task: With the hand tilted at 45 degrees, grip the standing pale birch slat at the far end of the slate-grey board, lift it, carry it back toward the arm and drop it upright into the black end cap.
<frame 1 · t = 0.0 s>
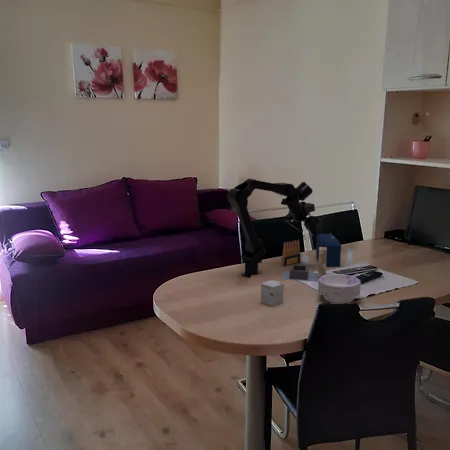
hand: (308, 233, 215), 15 cm above the table, tool tilted 35°, fingers open, 9 cm apart
end cap: (299, 275, 198), resting on base board
base board: (310, 278, 197), on the table
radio: (328, 263, 221), on the table
paper bowls: (338, 300, 173), on the table
slat: (321, 277, 195), point 1 cm above the table, touching base board
ammunition clip: (290, 266, 216), on the table
skincare box: (272, 302, 170), on the table
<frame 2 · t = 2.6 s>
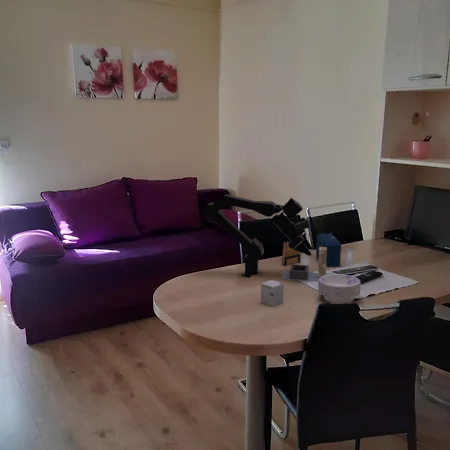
hand: (311, 252, 194), 12 cm above the table, tool tilted 45°, fingers open, 9 cm apart
nothing on the table moved.
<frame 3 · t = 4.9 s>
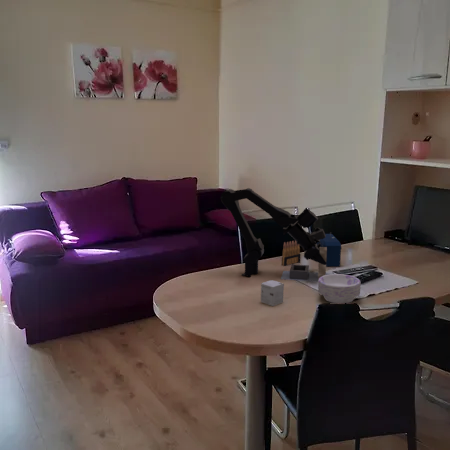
hand: (325, 262, 194), 8 cm above the table, tool tilted 45°, fingers closed on slat, 5 cm apart
slat: (321, 277, 195), point 1 cm above the table, touching base board, gripper
everything else where it was.
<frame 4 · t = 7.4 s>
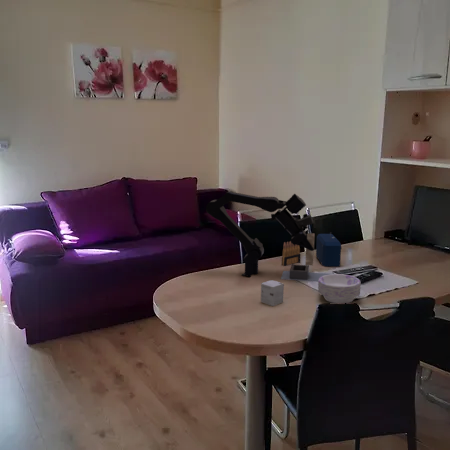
hand: (313, 248, 194), 13 cm above the table, tool tilted 45°, fingers closed on slat, 5 cm apart
slat: (309, 263, 196), point 7 cm above the table, touching gripper
everything else where it was.
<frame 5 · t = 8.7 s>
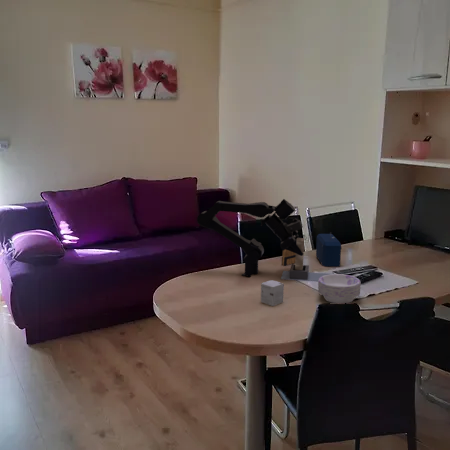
hand: (303, 253, 195), 11 cm above the table, tool tilted 45°, fingers closed on slat, 5 cm apart
slat: (299, 268, 197), point 4 cm above the table, touching gripper
everything else where it was.
when the fingers open (9 cm above the table, at t = 9.8 s): slat drops 1 cm, resting on end cap.
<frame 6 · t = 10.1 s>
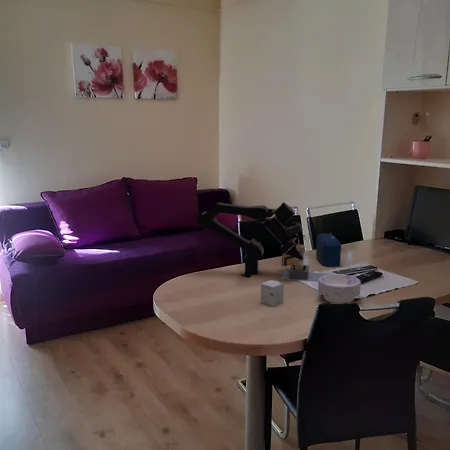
hand: (303, 256, 196), 10 cm above the table, tool tilted 45°, fingers open, 8 cm apart
slat: (299, 274, 197), point 2 cm above the table, touching end cap
everything else where it was.
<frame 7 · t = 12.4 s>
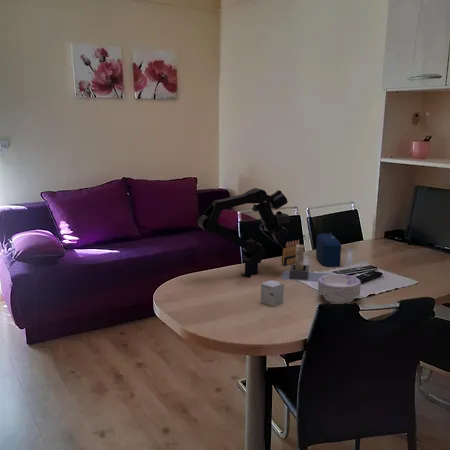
hand: (280, 245, 205), 12 cm above the table, tool tilted 25°, fingers open, 9 cm apart
nothing on the table moved.
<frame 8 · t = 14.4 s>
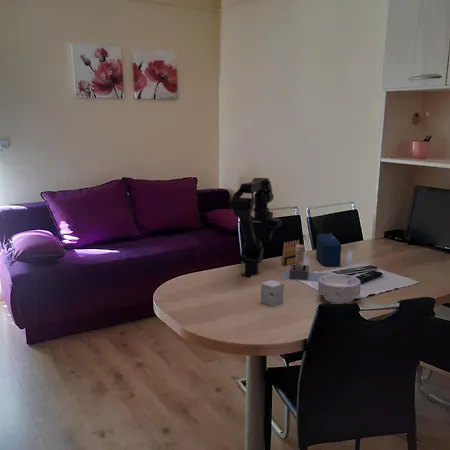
hand: (260, 239, 211), 13 cm above the table, tool pointing down, fingers open, 9 cm apart
nothing on the table moved.
at the end: slat 0.1 cm from the end cap (horizontally); slat point 1.6 cm above the table; slat tilted 0° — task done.
